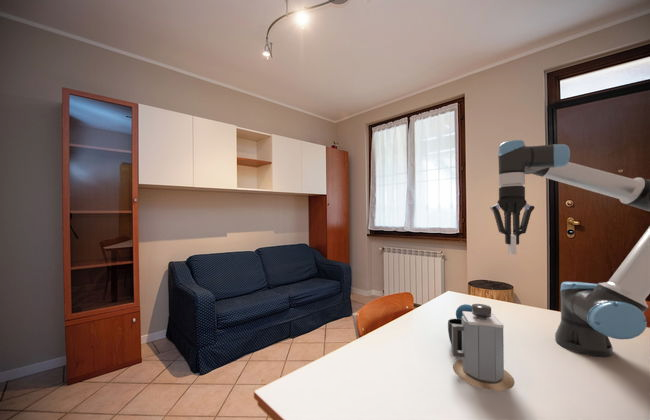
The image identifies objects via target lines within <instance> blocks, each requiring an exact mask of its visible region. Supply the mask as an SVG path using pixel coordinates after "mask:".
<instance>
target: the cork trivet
mask: <svg viewBox="0 0 650 420" xmlns="http://www.w3.org/2000/svg"><path fill="white" fill-rule="evenodd" d="M452 371H453V372H454V373H455V375H456V376H457V377H459V378H460V379H461V380H463V381H464V382H466V383H468V384H470V385H472V386H475V387H477V388H480V389H485V390H489V391H498V392H501V391H507V390H511V389H512V388H513V387H514V386H515V380H514V376H513V375H512V374H510V373H509V372H508V371H507V370H506V369H504V377H503V378H502V381H501V382H499V383H496V384H489V383H483V382H480V381H477V380H474V379H472V378H471V377H469V376H468V375H467V374H466V373H465V372H464V371H463V366H462V358H461V359H457V360H456V361H455V362H453V364H452Z"/></svg>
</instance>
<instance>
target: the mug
mask: <svg viewBox="0 0 650 420" xmlns="http://www.w3.org/2000/svg"><path fill="white" fill-rule="evenodd" d="M452 324H460V325H462V319H457V318H450V319H448V321H447V331H448V337H449V342H450V345H451V346H452ZM457 341H458V350H461V351H462V331H461V330H457Z"/></svg>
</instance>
